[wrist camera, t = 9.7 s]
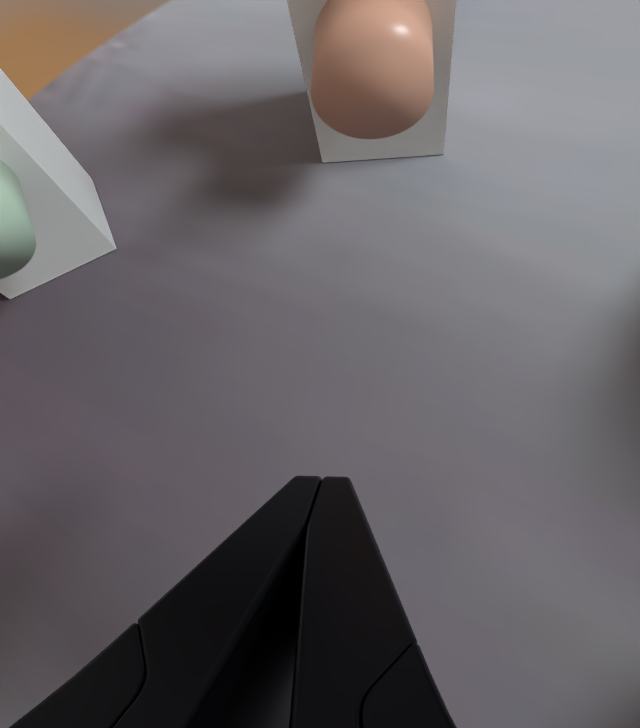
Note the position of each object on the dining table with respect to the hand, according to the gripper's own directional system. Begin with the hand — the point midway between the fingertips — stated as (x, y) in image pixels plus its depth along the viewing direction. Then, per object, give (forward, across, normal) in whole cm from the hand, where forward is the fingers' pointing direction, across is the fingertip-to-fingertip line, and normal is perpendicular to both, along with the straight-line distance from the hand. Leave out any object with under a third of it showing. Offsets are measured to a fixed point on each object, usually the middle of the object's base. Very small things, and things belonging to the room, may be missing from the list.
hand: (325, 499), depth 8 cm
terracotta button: (+19, 0, -7) cm, 20 cm away
